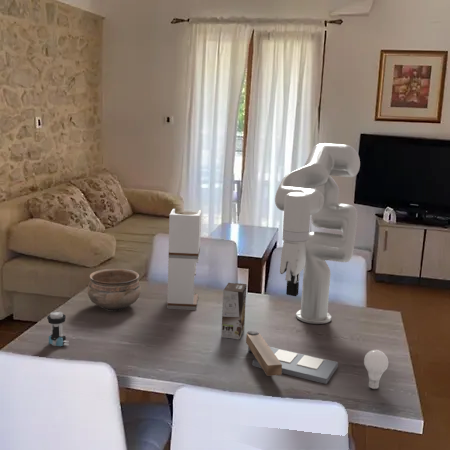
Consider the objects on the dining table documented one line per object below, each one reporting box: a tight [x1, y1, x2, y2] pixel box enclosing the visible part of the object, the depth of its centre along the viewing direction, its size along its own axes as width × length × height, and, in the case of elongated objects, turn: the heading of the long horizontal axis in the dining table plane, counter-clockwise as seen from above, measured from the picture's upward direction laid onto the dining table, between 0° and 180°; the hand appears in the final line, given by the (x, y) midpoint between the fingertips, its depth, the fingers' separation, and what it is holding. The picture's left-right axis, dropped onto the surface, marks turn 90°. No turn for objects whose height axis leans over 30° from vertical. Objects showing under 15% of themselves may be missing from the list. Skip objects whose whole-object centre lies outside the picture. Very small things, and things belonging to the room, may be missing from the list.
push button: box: [46, 310, 70, 347], centre depth 175 cm, size 7×5×10 cm
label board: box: [252, 346, 339, 385], centre depth 168 cm, size 12×22×2 cm, turn 65°
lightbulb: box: [363, 349, 389, 390], centre depth 155 cm, size 6×6×11 cm
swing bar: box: [245, 330, 282, 377], centre depth 166 cm, size 4×24×3 cm, turn 13°
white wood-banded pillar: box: [166, 208, 202, 311], centre depth 212 cm, size 11×11×35 cm
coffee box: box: [220, 282, 247, 340], centre depth 188 cm, size 9×6×16 cm
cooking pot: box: [87, 268, 142, 312], centre depth 207 cm, size 25×19×12 cm
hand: (292, 294), depth 171 cm, fingers closed
